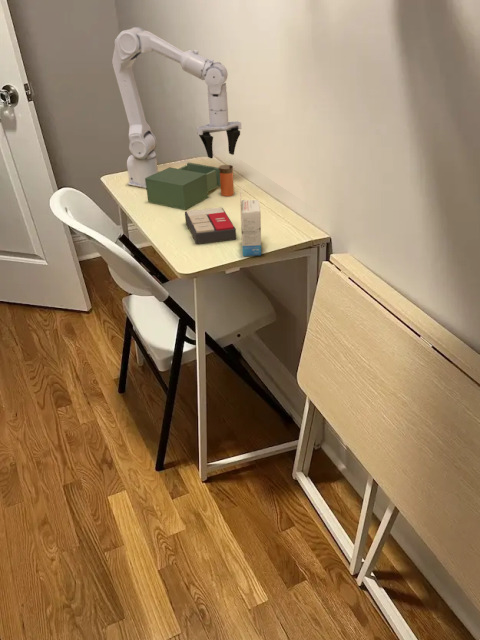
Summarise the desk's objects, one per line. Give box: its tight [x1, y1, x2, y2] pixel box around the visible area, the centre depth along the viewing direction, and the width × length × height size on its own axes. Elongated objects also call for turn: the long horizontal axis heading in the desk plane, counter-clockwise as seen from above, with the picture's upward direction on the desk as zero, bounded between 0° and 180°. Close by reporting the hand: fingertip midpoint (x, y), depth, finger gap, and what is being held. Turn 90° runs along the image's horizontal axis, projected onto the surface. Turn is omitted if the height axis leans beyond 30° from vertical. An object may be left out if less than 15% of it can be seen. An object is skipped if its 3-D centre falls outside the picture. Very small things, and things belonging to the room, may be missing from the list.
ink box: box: [239, 188, 262, 257], centre depth 143 cm, size 9×5×15 cm, turn 5°
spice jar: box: [218, 164, 235, 197], centre depth 179 cm, size 4×4×8 cm
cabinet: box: [145, 166, 209, 211], centre depth 175 cm, size 12×14×7 cm
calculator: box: [184, 206, 237, 245], centre depth 156 cm, size 11×4×15 cm
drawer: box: [178, 162, 220, 193], centre depth 183 cm, size 15×13×6 cm
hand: (221, 155), depth 180 cm, fingers open, 7 cm apart
